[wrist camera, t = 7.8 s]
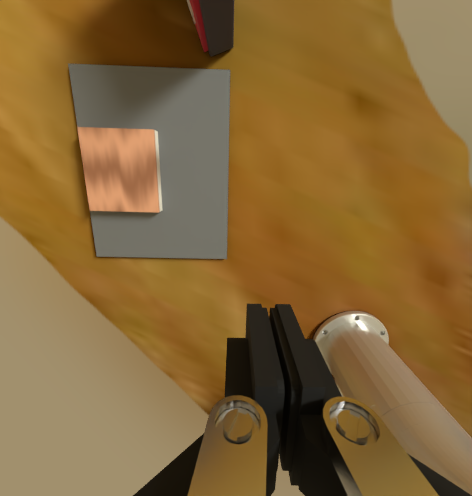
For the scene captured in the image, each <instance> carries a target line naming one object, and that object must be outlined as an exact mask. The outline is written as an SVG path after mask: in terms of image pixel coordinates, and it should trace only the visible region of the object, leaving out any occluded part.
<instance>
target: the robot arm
mask: <svg viewBox="0 0 472 496" xmlns="http://www.w3.org/2000/svg"><path fill="white" fill-rule="evenodd" d="M388 343H389V338H388V333H387V330H386V328H385V327H384V325H383V324H382V323H381V322H380V321H379V320H378V319H377V318H376V317H374V316H373V315H371V314H369V313H366V312H361V311H347V312H343V313H339V314H337V315H335V316H332V317H331V318H329V319H328V320H326V321H325V322H324V323H323V324H322V325H321V326H320V327H319V328H318V330H317V331H316V333H315V335H314V337H313V339H305V338H304V336H303V333H302V331H301V329H300V326H299V324H298V322H297V319H296V317H295V314H294V312H293V310H292V307H291V305H290V304H276V305H275V308H270V316H268V312H267V308H262V306H261V304H247V316H246V338H227V358H226V381H225V398H224V399H222V400H220V401H219V402H217V404H216V405H215V406H214V407H213V408H212V410H211V412H210V415H209V418H208V421H207V425H206V429H205V433H204V434H203V435H202V436H200V437H199V438H198V439H197V440H196V441H195V442H194V443H193V444H191V445H190V446H189V447H188V448H187V449H186V450H185V451H184V452H182V453H181V454H180V455H179V456H178V457H177V458H176V459H174V460H173V461H172V462H171V463H170V464H169V465H168V466H166V467H165V468H164V469H163V470H162V471H161V472H160V473H158V474H157V475H156V476H155V477H154V478H153V479H152V480H150V481H149V482H148V483H147V484H146V485H145V486H144V487H143V488H141V489H140V490H139V491H138V492H137V493H136V494H135V495H133V496H271V494H272V493H273V492H274V490H275V482H276V472H277V468H278V459H279V454H280V461H281V466H282V469H283V470H284V471H289V476H290V482H291V485H298V486H299V490H300V491H301V492H302V493H303V494H304V495H305V496H472V438H471V437H470V436H469V435H468V433H467V432H466V431H465V430H464V429H463V428H462V427H461V426H460V425H459V424H458V422H457V421H456V420H455V419H454V418H453V417H452V416H451V415H450V413H449V412H448V411H447V410H446V409H445V408H444V407H443V406H442V405H441V404H440V403H439V401H438V400H437V399H436V398H435V397H434V396H433V395H432V394H431V392H430V391H429V390H428V389H427V388H426V387H425V386H424V385H423V383H422V382H421V381H420V380H419V379H418V378H417V377H416V376H415V375H414V373H413V372H412V371H411V370H410V369H409V368H408V367H407V366H406V364H405V363H404V362H403V361H402V360H401V359H400V358H399V357H398V355H397V354H396V353H395V352H394V351H393V350H392V349H391V348H390V347H389V345H388ZM332 375H333V376H334V378H335V381H334V379H333V377H332Z"/></svg>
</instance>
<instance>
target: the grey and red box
mask: <svg viewBox="0 0 472 496" xmlns="http://www.w3.org/2000/svg"><path fill="white" fill-rule="evenodd" d="M187 3H188V6H189V9H190V12H191V15H192V18H193V21H194V24H195V26H196V29H197V32H198V35H199V38H200V41H201V44H202V47H203V50H204V52H207V51H209V54H210V56H214V55H217V54H219V53H222V52H224V51H227V50H229V49H231V48H233V35H234V0H187Z"/></svg>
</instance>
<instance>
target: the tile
mask: <svg viewBox="0 0 472 496" xmlns="http://www.w3.org/2000/svg"><path fill="white" fill-rule="evenodd" d="M77 128H78V135H79V142H80V149H81V155H82V162H83V169H84V176H85V182H86V189H87V196H88V203H89V209H90V211H117V212H158V213H159V212H161V211H162V194H161V177H160V161H159V144H158V131H156V130H154V129H124V128H94V127H77Z"/></svg>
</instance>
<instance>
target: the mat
mask: <svg viewBox="0 0 472 496" xmlns="http://www.w3.org/2000/svg"><path fill="white" fill-rule="evenodd" d="M68 66H69V73H70V80H71V86H72V93H73V100H74V107H75V113H76V120H77V127H94V128H124V129H154V130H156V131H158V144H159V161H160V177H161V194H162V211H161V212H159V213H158V212H117V211H90V215H91V222H92V228H93V235H94V242H95V249H96V255H97V257H147V258H198V259H227V219H228V162H229V106H230V70H218V69H192V68H167V67H142V66H116V65H91V64H68Z"/></svg>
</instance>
